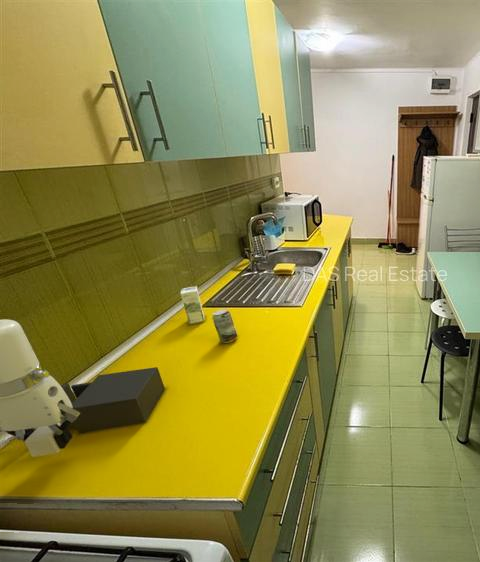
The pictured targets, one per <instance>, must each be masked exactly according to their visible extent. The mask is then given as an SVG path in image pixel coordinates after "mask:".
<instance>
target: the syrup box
mask: <svg viewBox="0 0 480 562" xmlns="http://www.w3.org/2000/svg"><path fill="white" fill-rule="evenodd" d="M180 297H181V300H182V304H183V308H184V310H185V314H186V318H187V321H188V325H189V326H190V325H194V324H200V323H203V322H205V313H204V310H203V305H202V301H201V297H200V294H199V290H198V286H197V285H195V286H189V287H184V288H181V289H180Z"/></svg>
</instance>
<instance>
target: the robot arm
mask: <svg viewBox="0 0 480 562" xmlns="http://www.w3.org/2000/svg"><path fill="white" fill-rule="evenodd" d="M61 386H62V385H61V384H60V383H59V382H58V381H57V380H56V379H55V378H54V377H53V376H52V375H50V371H49V370H44V369H43V367H42V365H41V362H40V361H39V359H38V357H37V355H36V353H35V351H34V349H33V347H32V345H31V343H30V341H29V339H28V337H27V335H26V333H25V331H24V330H23V327H22V326H21V324H20V323H19V322H18V321H16V320H13V319H7V318H3V319H0V432H1V433H6V434H8V435H11V436H14V437H15V438H16V441H22V442H23V444H24V445H25V443H24V441H25V440H26V439H27V438H28V437H29V436H30V435H31V434H32V433H33V432H34V431H35V430H36V429H37V428H38V427H44V426H48V427H49V428H50V429H51V430H52V431H53V432H54V433H55V435H54V436H53V437H54V439H55V441H56V443H57V445H58V447H59V448H60V449H61V450H62V449H65V448H66V447H67V446H68V444H69V443H70V442H71V440H73V437H74V436H73V434H72V431H71V430H70V428H68V426H69V424H71V423H72V422H73V421H75V420H76V419H77V418H78V417H79V415H80V414H81V413H80V412H78V411H76V410H74V409H72V408H73V406H72V404H71V402H70V400H69V398H68V396H67V395H66V393H65V392H64V390H63V389H62V387H61ZM65 416H66V417H67V418H66V417H65ZM59 422H60V424H61V425H60V426H58V424H57V423H59ZM26 449H27V451H28V452H29V450H28V448H27V447H26ZM29 454H30V455H31V453H30V452H29Z"/></svg>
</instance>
